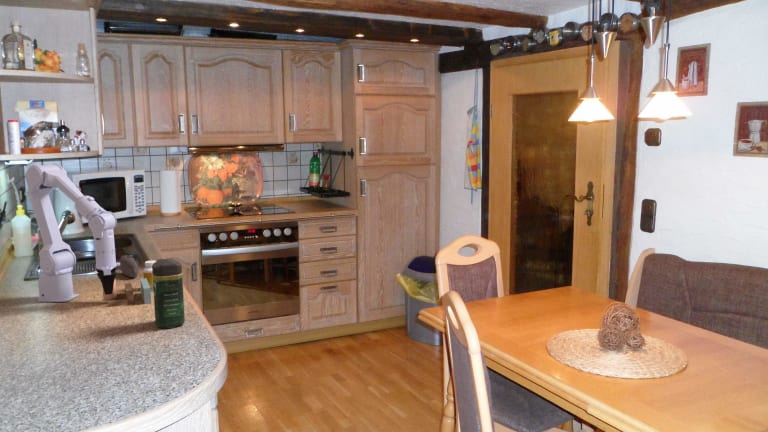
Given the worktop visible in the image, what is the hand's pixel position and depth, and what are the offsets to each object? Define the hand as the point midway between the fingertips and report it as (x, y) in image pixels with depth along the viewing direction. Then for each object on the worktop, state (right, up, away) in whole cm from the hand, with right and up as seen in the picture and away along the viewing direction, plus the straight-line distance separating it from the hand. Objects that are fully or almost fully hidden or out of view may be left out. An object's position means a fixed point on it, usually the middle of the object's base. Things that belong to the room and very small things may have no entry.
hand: (108, 292), depth 195 cm
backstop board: (+10, -3, +5) cm, 12 cm away
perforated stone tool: (-8, +1, +36) cm, 36 cm away
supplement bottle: (+8, -1, +17) cm, 18 cm away
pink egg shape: (0, -2, 0) cm, 2 cm away
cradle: (+3, -3, +2) cm, 5 cm away
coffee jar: (+27, -7, -21) cm, 35 cm away
